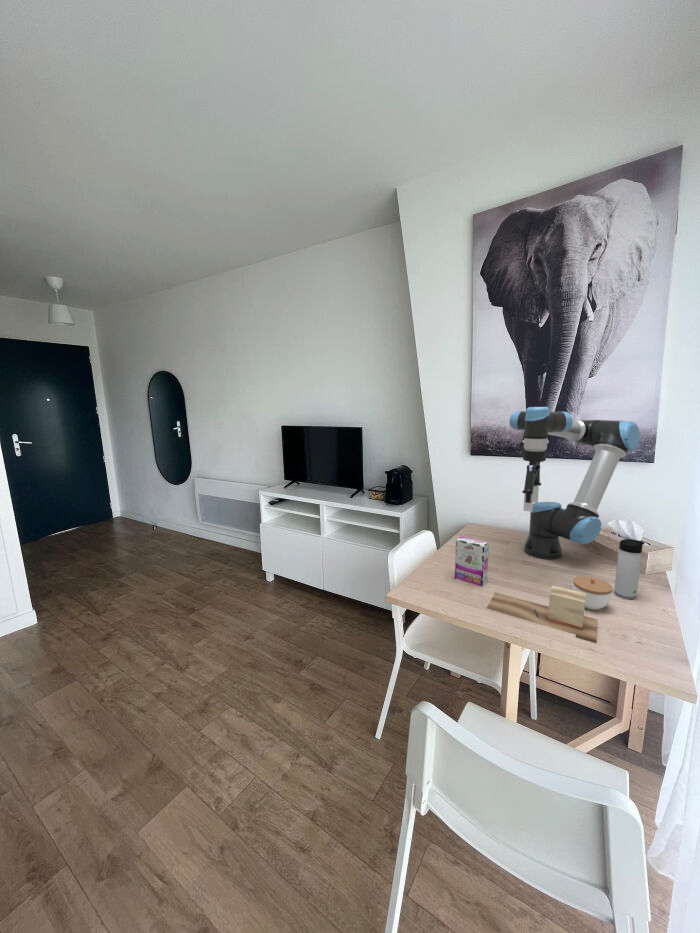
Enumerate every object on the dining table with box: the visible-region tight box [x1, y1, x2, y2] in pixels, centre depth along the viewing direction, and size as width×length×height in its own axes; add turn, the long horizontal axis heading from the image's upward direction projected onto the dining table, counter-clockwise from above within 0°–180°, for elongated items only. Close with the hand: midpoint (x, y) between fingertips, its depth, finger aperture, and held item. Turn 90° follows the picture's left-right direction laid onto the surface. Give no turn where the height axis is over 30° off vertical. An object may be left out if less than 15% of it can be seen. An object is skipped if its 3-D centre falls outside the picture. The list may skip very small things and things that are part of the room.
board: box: [486, 592, 598, 644], centre depth 115 cm, size 12×30×1 cm, turn 55°
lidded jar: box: [572, 575, 613, 611], centre depth 120 cm, size 11×11×9 cm
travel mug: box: [613, 538, 645, 600], centre depth 125 cm, size 6×7×20 cm
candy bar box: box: [454, 536, 490, 587], centre depth 137 cm, size 11×5×16 cm, turn 47°
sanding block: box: [548, 585, 586, 630], centre depth 110 cm, size 6×9×9 cm, turn 55°
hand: (530, 506), depth 135 cm, fingers open, 13 cm apart
